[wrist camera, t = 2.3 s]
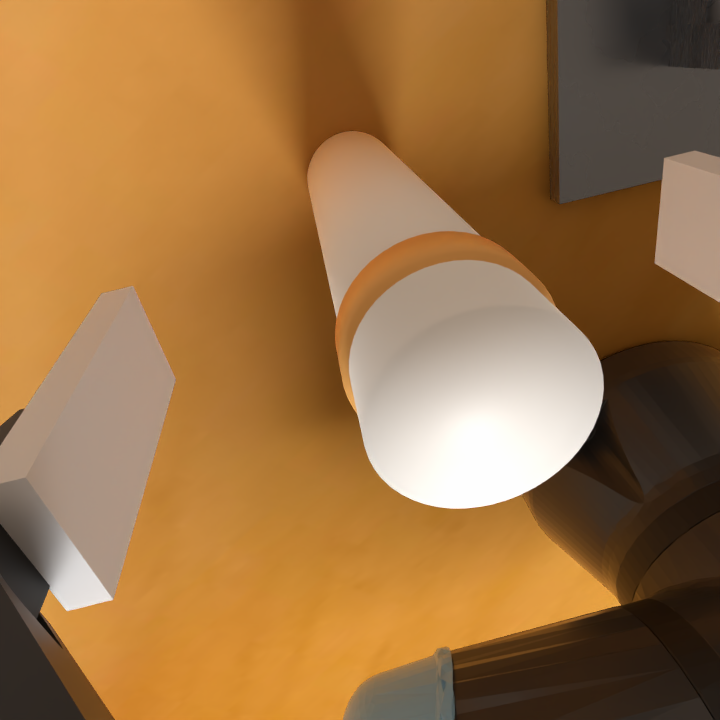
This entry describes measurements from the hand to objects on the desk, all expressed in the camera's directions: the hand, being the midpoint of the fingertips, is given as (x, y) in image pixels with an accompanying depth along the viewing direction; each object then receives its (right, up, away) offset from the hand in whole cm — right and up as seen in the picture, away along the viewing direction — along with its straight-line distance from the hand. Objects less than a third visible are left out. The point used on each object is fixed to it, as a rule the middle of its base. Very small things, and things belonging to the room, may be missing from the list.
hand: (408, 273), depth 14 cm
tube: (-2, +6, +11) cm, 12 cm away
